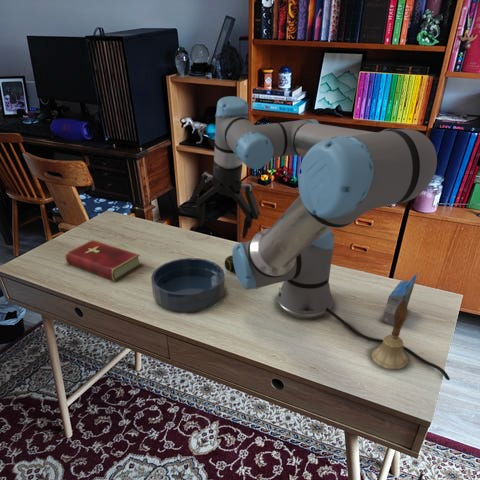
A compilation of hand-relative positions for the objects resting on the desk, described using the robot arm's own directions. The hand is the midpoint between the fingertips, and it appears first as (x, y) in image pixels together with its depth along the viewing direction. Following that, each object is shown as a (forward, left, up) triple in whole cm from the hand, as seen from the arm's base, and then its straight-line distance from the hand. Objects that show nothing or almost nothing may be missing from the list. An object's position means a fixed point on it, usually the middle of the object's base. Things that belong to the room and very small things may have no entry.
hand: (223, 229), depth 130 cm
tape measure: (-1, -5, -15) cm, 16 cm away
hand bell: (-58, -4, -15) cm, 60 cm away
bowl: (-3, +15, -15) cm, 21 cm away
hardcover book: (+29, +26, -15) cm, 42 cm away
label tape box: (-49, -20, -15) cm, 54 cm away
